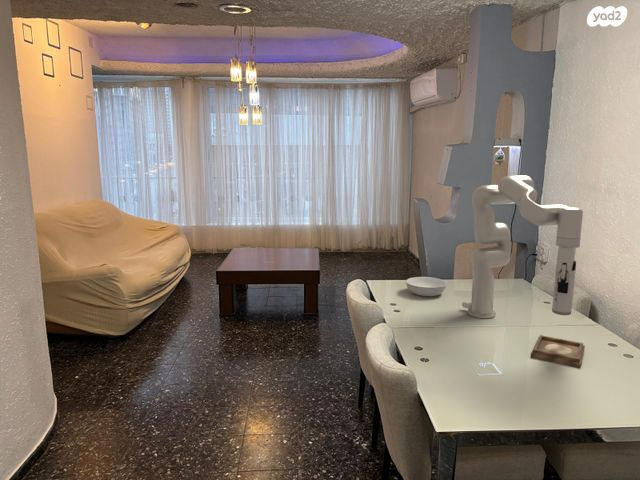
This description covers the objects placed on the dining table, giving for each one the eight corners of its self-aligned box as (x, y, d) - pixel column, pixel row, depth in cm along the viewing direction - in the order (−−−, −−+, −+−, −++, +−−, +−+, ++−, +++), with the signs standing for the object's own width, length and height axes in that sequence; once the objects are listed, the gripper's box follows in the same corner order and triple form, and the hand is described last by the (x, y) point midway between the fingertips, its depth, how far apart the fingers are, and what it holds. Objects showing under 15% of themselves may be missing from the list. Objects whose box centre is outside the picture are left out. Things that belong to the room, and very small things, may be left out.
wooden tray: (530, 357, 169) (531, 350, 168) (538, 340, 183) (538, 333, 183) (580, 367, 160) (581, 360, 160) (584, 349, 175) (585, 342, 174)
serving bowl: (450, 300, 234) (451, 287, 233) (409, 300, 235) (409, 287, 233) (440, 288, 255) (441, 276, 253) (402, 288, 255) (403, 276, 254)
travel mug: (569, 310, 171) (574, 258, 167) (572, 316, 165) (578, 262, 161) (550, 308, 173) (555, 256, 169) (553, 314, 167) (558, 261, 163)
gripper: (559, 237, 173) (555, 283, 176) (553, 245, 159) (548, 295, 162) (582, 238, 169) (577, 285, 172) (577, 247, 155) (572, 298, 158)
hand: (563, 289), depth 167 cm, fingers closed on travel mug, 6 cm apart
